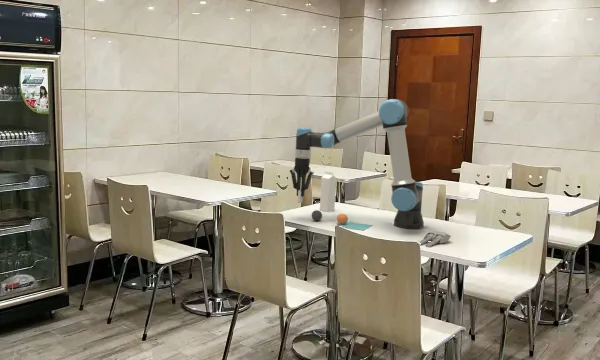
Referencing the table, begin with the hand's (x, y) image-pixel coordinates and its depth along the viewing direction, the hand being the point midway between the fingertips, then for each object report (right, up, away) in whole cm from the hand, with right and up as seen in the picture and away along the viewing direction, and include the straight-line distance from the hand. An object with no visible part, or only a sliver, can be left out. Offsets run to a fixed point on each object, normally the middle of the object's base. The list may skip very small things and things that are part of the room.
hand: (300, 202), depth 308 cm
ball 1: (+9, -7, -3) cm, 11 cm away
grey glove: (+61, -17, -39) cm, 74 cm away
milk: (+15, -6, +26) cm, 31 cm away
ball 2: (+21, -8, -9) cm, 25 cm away
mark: (+28, -11, -11) cm, 32 cm away
